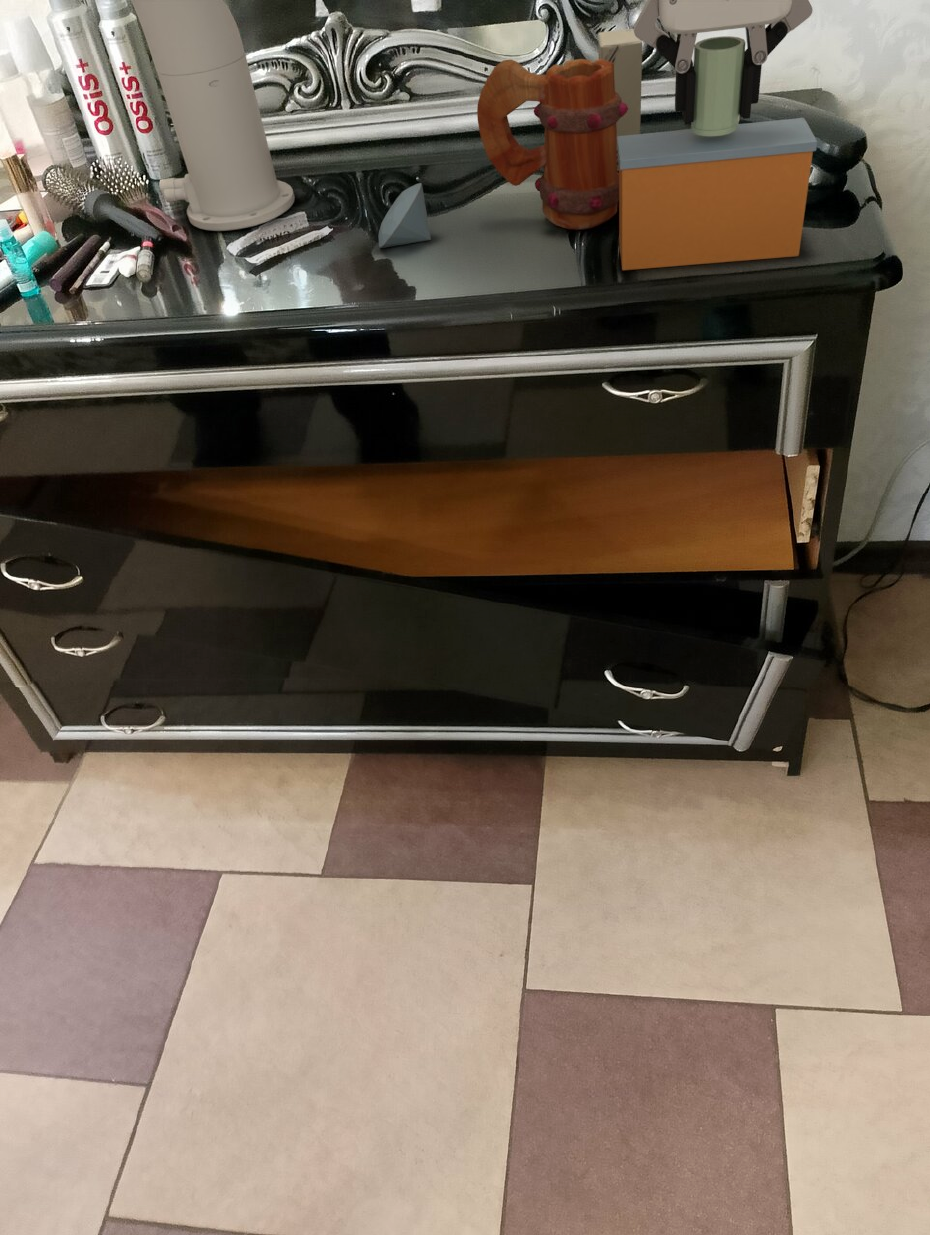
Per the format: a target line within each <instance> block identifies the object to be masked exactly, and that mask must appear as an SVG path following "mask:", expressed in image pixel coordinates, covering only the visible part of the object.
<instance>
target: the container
mask: <svg viewBox="0 0 930 1235" xmlns="http://www.w3.org/2000/svg"><path fill="white" fill-rule="evenodd" d="M817 146H818V140H817V138H816V137H815V135H814V133H813V131H812V129H811V128H810V126H809V124H808V122H807V121H806V119H805V117H799V118H787V119H786V118H785V119H777V120H767V121H758V122H747V123H739V125H738V129H737V130H736V131H734V132H732V133H730V134H726V135H722V136H700V135H696V134H694V133H692V131H691V128H686V129H678V130H667V131H666V130H665V131H658V132H647V133H640V134H636V135H626V136H617V150H618V158H619V171H618V173H619V201H618V203H619V205H618V208H619V209H618V211H619V214H618V218H619V219H618V220H619V221H618V222H619V223H618V228H619V229H618V233H619V234H618V236H619V237H618V238H619V240H618V241H619V242H618V243H619V244H618V246H619V253H620V255H619V256H620V261H621V262H620V263H621V271H632V270H645V269H647V270H648V269H656V268H658V269H659V268H669V267H680V266H681V267H683V266H694V265H705V264H720V263H730V262H742V261H744V262H745V261H755V260H756V261H757V260H768V259H780V258H791V257H799V256H800V249H801V242H802V235H803V229H804V228H803V227H804V220H805V212H806V205H807V199H808V198H807V197H808V192H809V184H810V177H811V176H810V174H811V168H812V161H813V153H814V152H816V151H817V149H818V148H817Z"/></svg>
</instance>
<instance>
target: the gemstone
mask: <svg viewBox="0 0 930 1235" xmlns="http://www.w3.org/2000/svg"><path fill="white" fill-rule="evenodd" d="M429 224H430V223H429V218H428V213H427V207H426V200H425V195H424V188H423V183H421V182H419V183H415V184H414V185H412V186H409V187H408V188H406V189H404V190H403V191H401V193H399V195H398V196H397V197H396V199H395V200H394V202H393V203H392V205H391V206H390V208H389V209H388V211H387V212H386V214H385V216H384V218H383V220H382V222H381V224H380V228H379V231H378V236H377V237H378V247H379V249H384V248H390V247H395V246H396V247H397V246H402V245H408V244H414V243H415V244H416V243H422V242H427V241H431V240H432V238H431V236H432V235H431V231H430V225H429Z"/></svg>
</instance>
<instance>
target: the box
mask: <svg viewBox="0 0 930 1235" xmlns="http://www.w3.org/2000/svg"><path fill="white" fill-rule="evenodd" d="M597 40H598V42H597V43H598V45H597V46H598V59H604V60H606V61H609V62H613V63H614V81H615V92H617V93H618V94H619V95H620V97H621V99H622V102H623V103H625V104H626V105H627V107H628V111H627V113H626V114H625V115H624V116H622V117H621V118H620V119H619V120H618V121H617V122H616V127H617V136H626V135H636V134H641V121H642V120H641V118H642V117H641V116H642V80H643V79H642V77H643V76H642V74H643V41H642V40H640V39H639V38H637V37H636V36H635V34H634V29H633V28H626V29H618V30H609V31H601V32H598V33H597ZM617 172H619V158H618V150H617Z"/></svg>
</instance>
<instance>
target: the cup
mask: <svg viewBox="0 0 930 1235" xmlns="http://www.w3.org/2000/svg"><path fill="white" fill-rule="evenodd" d="M745 51H746V40H745V39H744V38H742V37H738V36H731V35H730V36H727V35H725V36H722V35H721V36H713V37H708V38H704V39H702V40H699V41H697V42H695V45H694V50H693V68H694V70H695V73H696V84H695V104H694V122H691V124H690V129H691V131H692V133H694V134H696V135H700V136H722V135H726V134H730V133H732V132H734V131H736V130H737V129H738V125H739V124H740V118H741V116H740V104H741V91H742V79H743V66H744V55H745Z"/></svg>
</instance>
